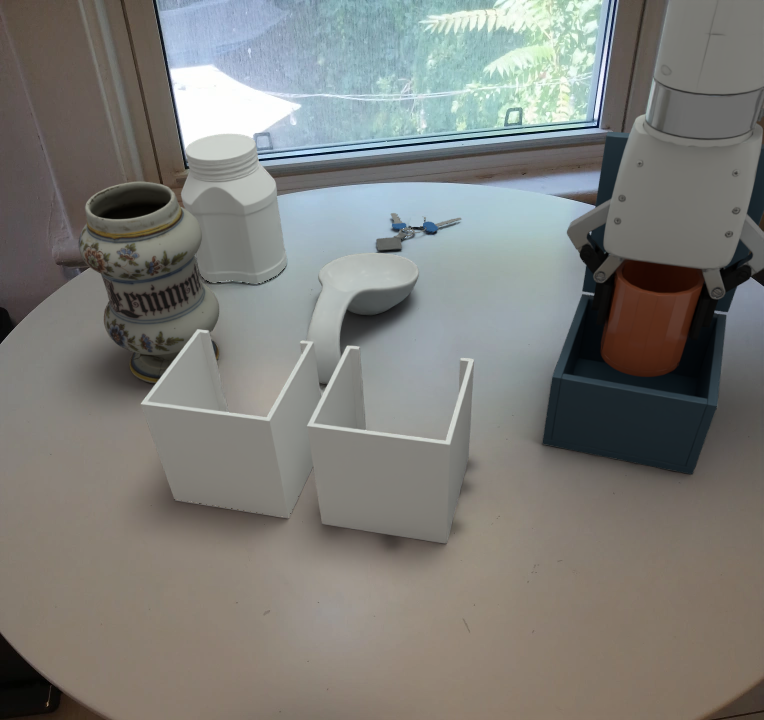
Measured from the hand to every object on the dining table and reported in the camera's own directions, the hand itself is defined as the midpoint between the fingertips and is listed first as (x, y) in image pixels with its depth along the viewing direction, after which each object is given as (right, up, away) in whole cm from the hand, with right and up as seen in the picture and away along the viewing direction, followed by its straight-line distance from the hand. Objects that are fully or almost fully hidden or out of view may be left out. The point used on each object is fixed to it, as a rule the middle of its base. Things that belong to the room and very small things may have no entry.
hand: (647, 323), depth 65 cm
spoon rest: (-26, +5, +20) cm, 34 cm away
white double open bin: (-29, -14, +3) cm, 32 cm away
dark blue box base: (+1, -7, +7) cm, 10 cm away
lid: (+2, +8, 0) cm, 8 cm away
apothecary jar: (-47, 0, +17) cm, 50 cm away
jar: (-42, +15, +32) cm, 55 cm away
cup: (0, -2, +2) cm, 3 cm away
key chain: (-20, +22, +37) cm, 47 cm away
